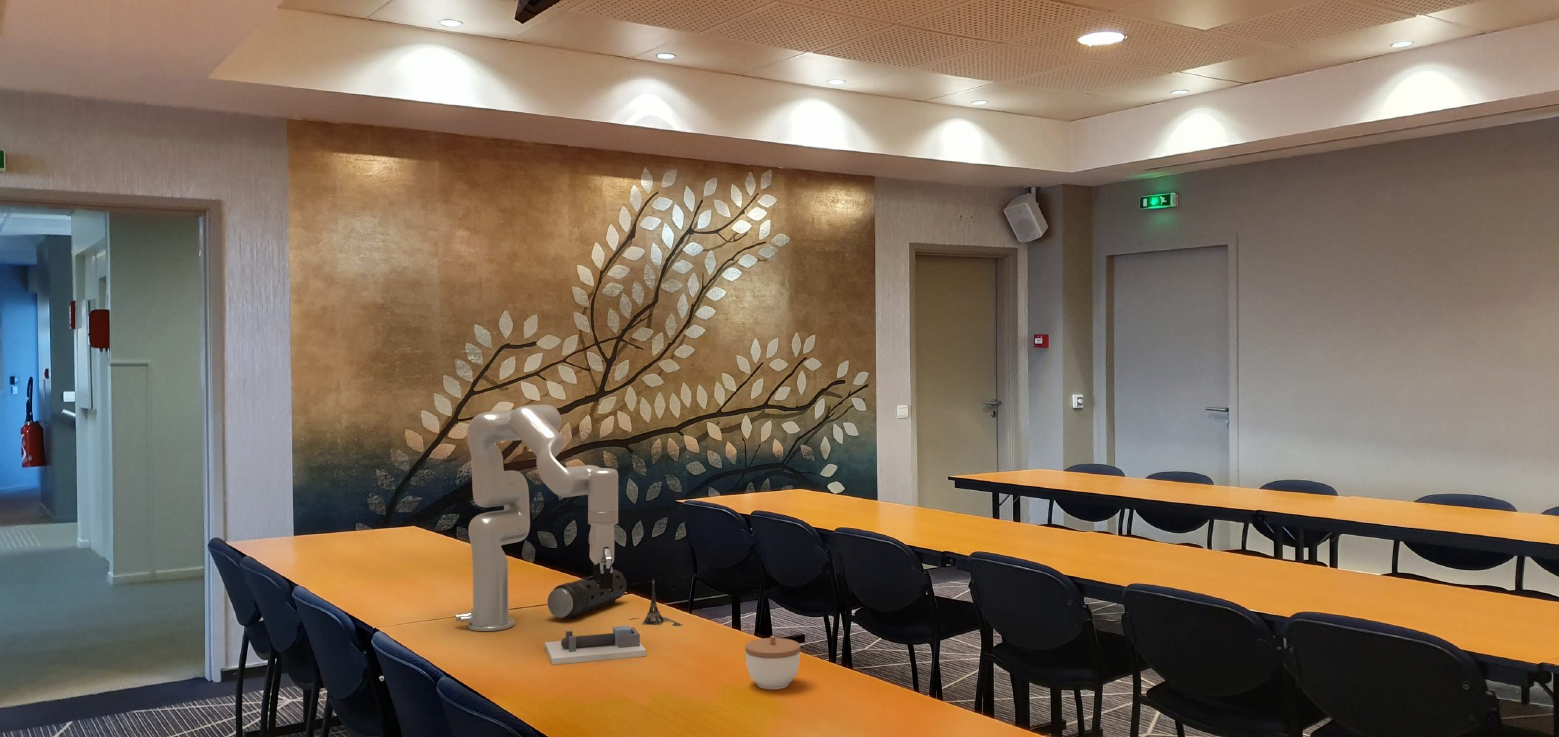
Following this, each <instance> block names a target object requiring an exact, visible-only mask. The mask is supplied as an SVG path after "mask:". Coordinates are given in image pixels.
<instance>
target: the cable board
mask: <svg viewBox="0 0 1559 737" xmlns="http://www.w3.org/2000/svg"><path fill="white" fill-rule="evenodd" d="M630 628H631V634H626V635H618V646H615V645H603V646H592V647H580V648H576V635H573V633H574V632H573V630H565V637H569V649H565V648H563V647H562V646H561V641H562V640H555V641H545V642H544V649H545V651H546V653H547V656H548V658H549V661H550V663H551V665H553V666H554V665H565V664H574V663H587V662H588V663H589V662H596V661H597V662H598V661H608V660H609V661H610V660H617V659H629V658H639V657H647V650H646V648H645V647H644V646H643V644H642V643H641V635H640V633H639V631H638V630H637V629H636V628H635V627H634V626H632V627H630Z"/></svg>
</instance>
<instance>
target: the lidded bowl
mask: <svg viewBox="0 0 1559 737" xmlns="http://www.w3.org/2000/svg"><path fill="white" fill-rule="evenodd" d="M801 647H802V646H801V644H800V643H799V642H798V641H796V640H793V639H789V638H781V637H780V638H779V637H776V636H775V635H770V637H767V638H766V637H765V638H759V639H754V640H751V641H749V642H747V643H746V644H745V646H744V650H745V664H746V667H747V669H746V670H747V671H748V674H749V677H750V678H751V679H752V680H753V682H755V684H756V685H757V687H758V688H761V689H764V690H772V691H773V690H774V691H775V690H782V689H786V688H788V687H789V684H790V683H792V681H793V680H794V679H795V677H796V676H797V674H798V672H799V667H800V664H801V663H800V662H801V660H800V659H801V649H802V648H801Z"/></svg>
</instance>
